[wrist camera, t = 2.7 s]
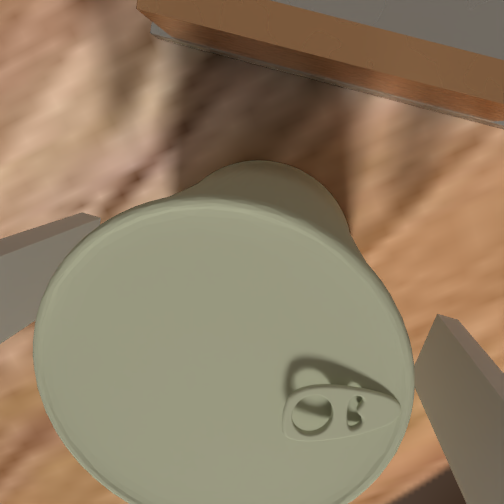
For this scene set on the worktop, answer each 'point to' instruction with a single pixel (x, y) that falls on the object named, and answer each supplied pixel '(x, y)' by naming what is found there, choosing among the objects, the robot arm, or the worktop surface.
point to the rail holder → (358, 45)
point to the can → (226, 348)
